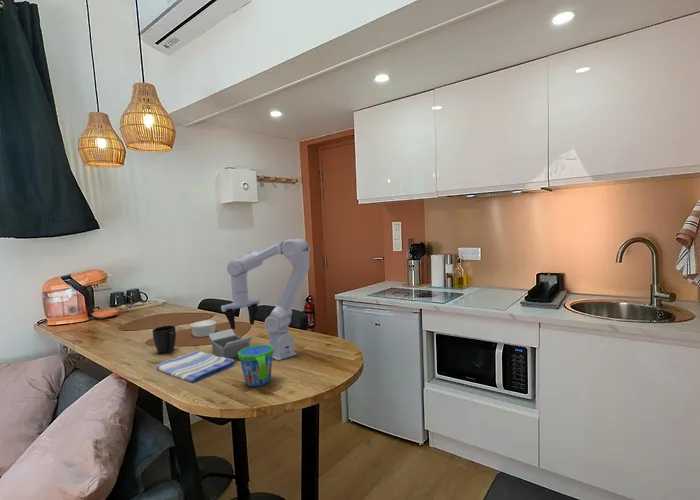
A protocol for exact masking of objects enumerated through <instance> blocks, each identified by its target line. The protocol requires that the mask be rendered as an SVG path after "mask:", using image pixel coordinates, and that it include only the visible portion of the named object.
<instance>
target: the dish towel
mask: <svg viewBox="0 0 700 500" xmlns="http://www.w3.org/2000/svg"><path fill="white" fill-rule="evenodd" d="M235 364H236V361H235V359H234V358H232V359H229V358H224V357H218V356H216V355H215V354H213V353H212V354H211V353H207V352H203V351H201V350H200V349H198V350H195V351H192V352H190V353H187V354H184V355H180V356H178V357H176V358H172V359H167V360H165V361H163V362H160V363H158V364H157V366H156V368H155V369H156V370H157V371H159V372H161V373H163V374H166V375H168V376H170V377H171V376H172V377H174V378H177V379H179V380H183V381H186V382H188V383H193V384H194V383H197V382H199V381H202V380H204V379H207V378H209V377H212V376H214V375H217V374H220V373H222V372H224V371H227V370H229V369H232V368H234V367H236V365H235Z"/></svg>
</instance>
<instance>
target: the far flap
mask: <svg viewBox="0 0 700 500" xmlns="http://www.w3.org/2000/svg"><path fill="white" fill-rule="evenodd" d="M233 336H237V335H236V333H235V331H234V329H231V328H228V329H225V330H220V331H217V332H216V331H215V333H211V334H208V336H207V337H208V338H210V341H211V342H212V341H216V340H220V339H225V338H229V337H233Z"/></svg>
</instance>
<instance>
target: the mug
mask: <svg viewBox="0 0 700 500" xmlns="http://www.w3.org/2000/svg"><path fill="white" fill-rule="evenodd" d="M152 338H153V343H154V345H155V348H156V352H157V353H158V354H161V355H165V354H166V355H167V354H170V353H172V352H174V350H175V345H176V341H177V330H176V326H175V325H163V326H159V327H155V328H153V329H152Z"/></svg>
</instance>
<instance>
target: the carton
mask: <svg viewBox="0 0 700 500" xmlns="http://www.w3.org/2000/svg"><path fill="white" fill-rule="evenodd" d="M240 339H243V337H240V336H238V335H236V336H233V337H229V338H225V339H220V340H216V341H211V348H212V349H211V350H212V354H213V355H215V356H217V357H224V358H229V359H235V358H238V352H239V351H240V350H241V349H244V348H246V347H250V346H251V345H250V342H249V343H245V344H242V345H238V346H234V347H230V348H226V349H224V347H225V345H226V344H227V343H228V342H232V341H236V340H240Z"/></svg>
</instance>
